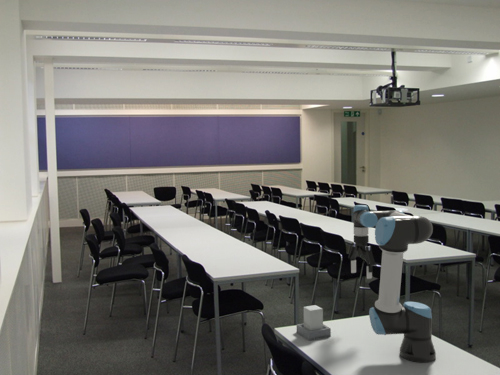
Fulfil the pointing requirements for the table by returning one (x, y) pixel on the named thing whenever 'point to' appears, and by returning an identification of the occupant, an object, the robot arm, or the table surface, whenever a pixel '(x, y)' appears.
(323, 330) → the box
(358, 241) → the robot arm
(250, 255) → the table surface
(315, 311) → the supplement box
